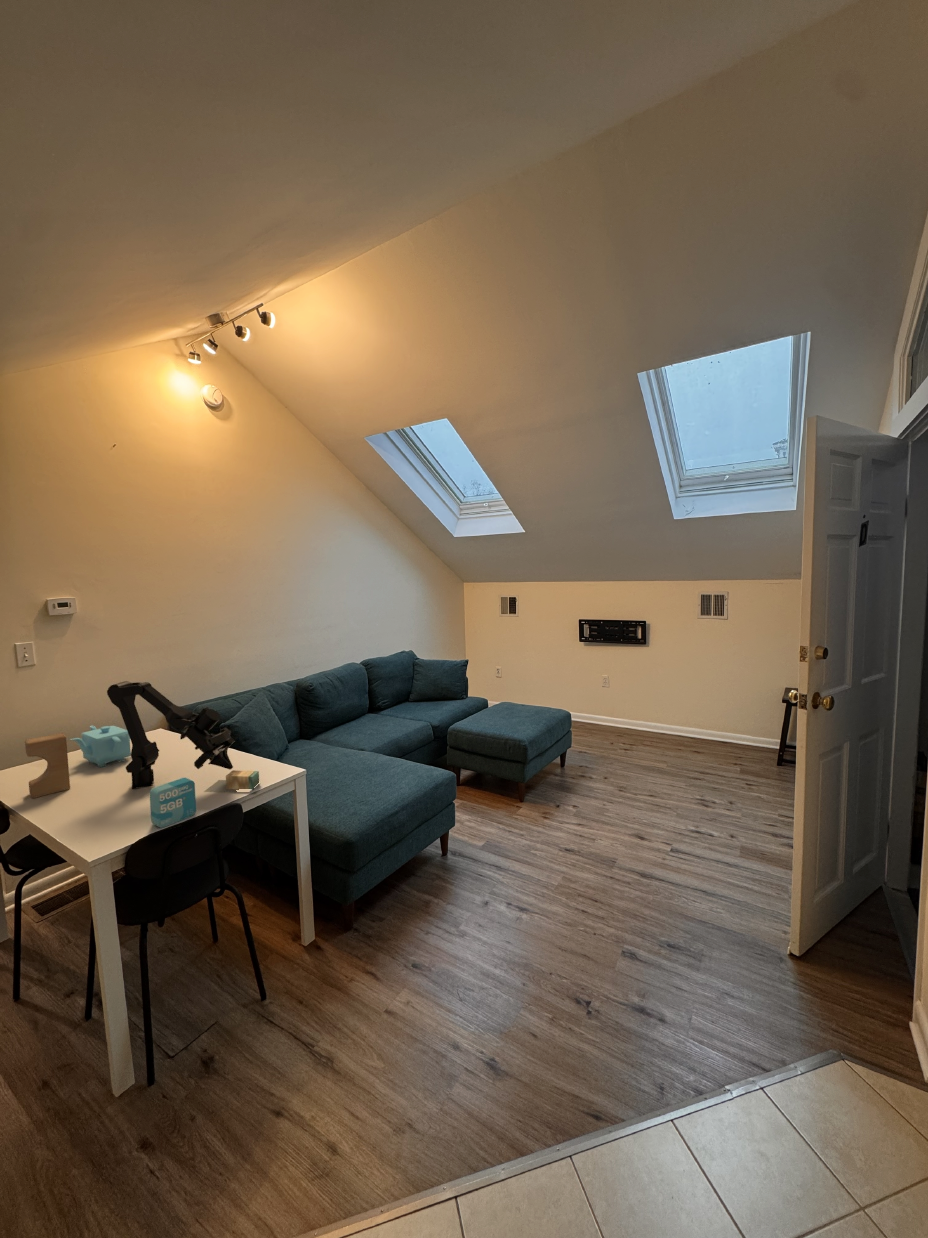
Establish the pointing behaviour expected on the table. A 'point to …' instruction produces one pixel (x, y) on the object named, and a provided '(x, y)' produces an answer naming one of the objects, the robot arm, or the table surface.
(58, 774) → the decorative block
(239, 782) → the maple block
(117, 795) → the table surface
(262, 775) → the table surface
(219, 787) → the slate mat
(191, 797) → the data package
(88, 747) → the teakettle
